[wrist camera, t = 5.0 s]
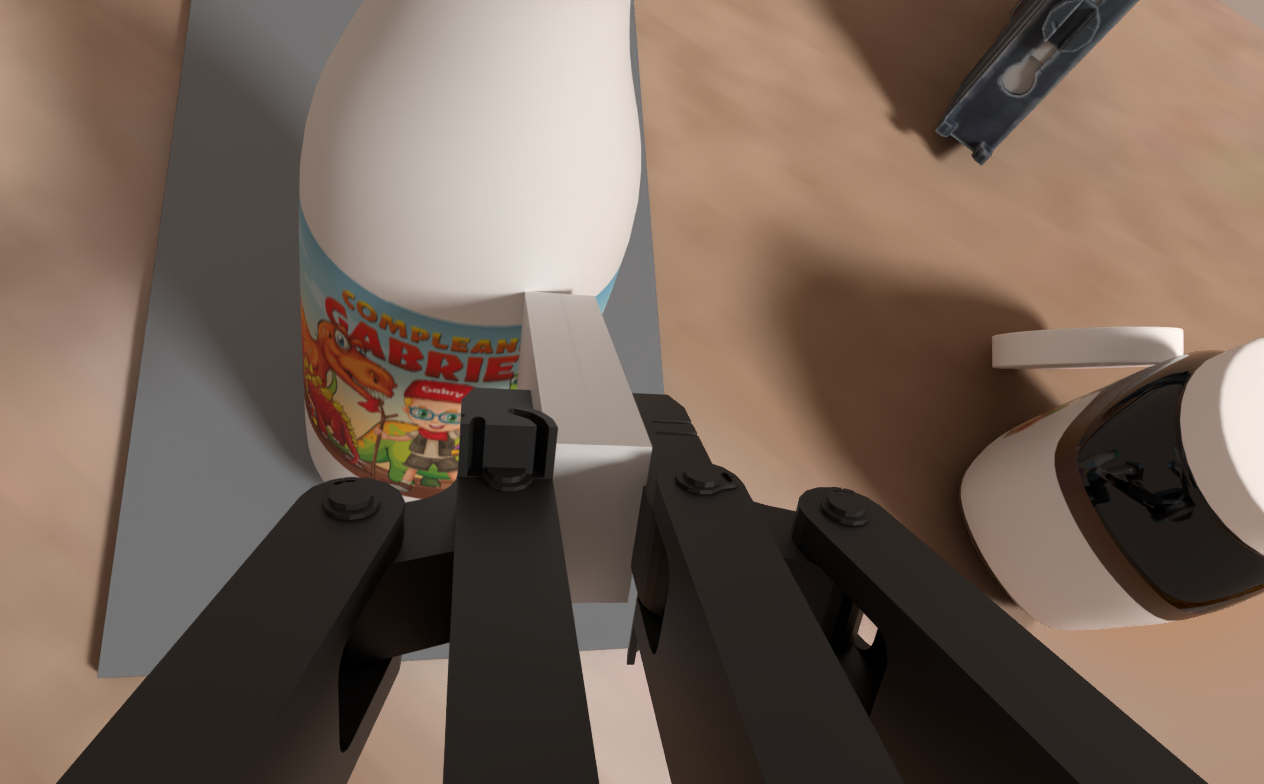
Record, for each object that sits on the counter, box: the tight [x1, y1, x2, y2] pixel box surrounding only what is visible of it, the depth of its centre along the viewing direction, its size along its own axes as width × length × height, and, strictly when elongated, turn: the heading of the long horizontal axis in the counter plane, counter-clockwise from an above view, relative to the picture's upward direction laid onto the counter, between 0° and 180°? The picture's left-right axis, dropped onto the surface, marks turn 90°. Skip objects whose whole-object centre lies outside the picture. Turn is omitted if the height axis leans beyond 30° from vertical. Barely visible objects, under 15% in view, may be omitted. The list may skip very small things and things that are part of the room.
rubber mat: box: [97, 0, 664, 678], centre depth 32 cm, size 34×18×1 cm, turn 3°
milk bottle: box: [299, 0, 641, 502], centre depth 20 cm, size 8×8×20 cm
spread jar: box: [959, 327, 1264, 630], centre depth 30 cm, size 12×11×12 cm
